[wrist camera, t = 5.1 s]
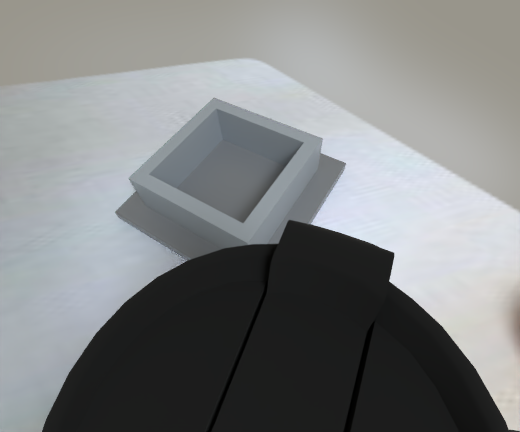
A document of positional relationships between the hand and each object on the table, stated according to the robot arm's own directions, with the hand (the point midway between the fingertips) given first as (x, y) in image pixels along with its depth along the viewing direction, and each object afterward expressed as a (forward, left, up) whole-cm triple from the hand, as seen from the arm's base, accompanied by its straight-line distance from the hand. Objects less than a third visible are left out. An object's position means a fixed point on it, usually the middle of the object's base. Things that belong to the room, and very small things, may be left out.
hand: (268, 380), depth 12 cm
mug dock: (-12, +13, -10) cm, 20 cm away
